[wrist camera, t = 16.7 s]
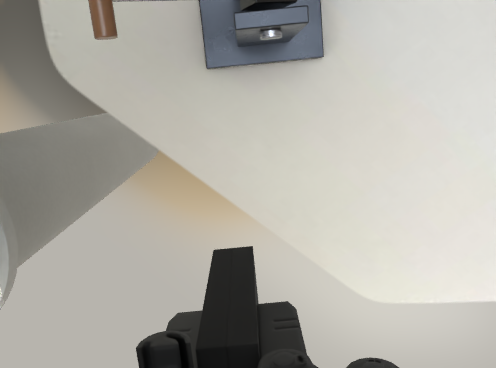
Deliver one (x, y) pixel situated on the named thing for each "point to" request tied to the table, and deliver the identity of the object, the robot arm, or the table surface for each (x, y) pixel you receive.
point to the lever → (104, 10)
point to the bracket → (260, 33)
